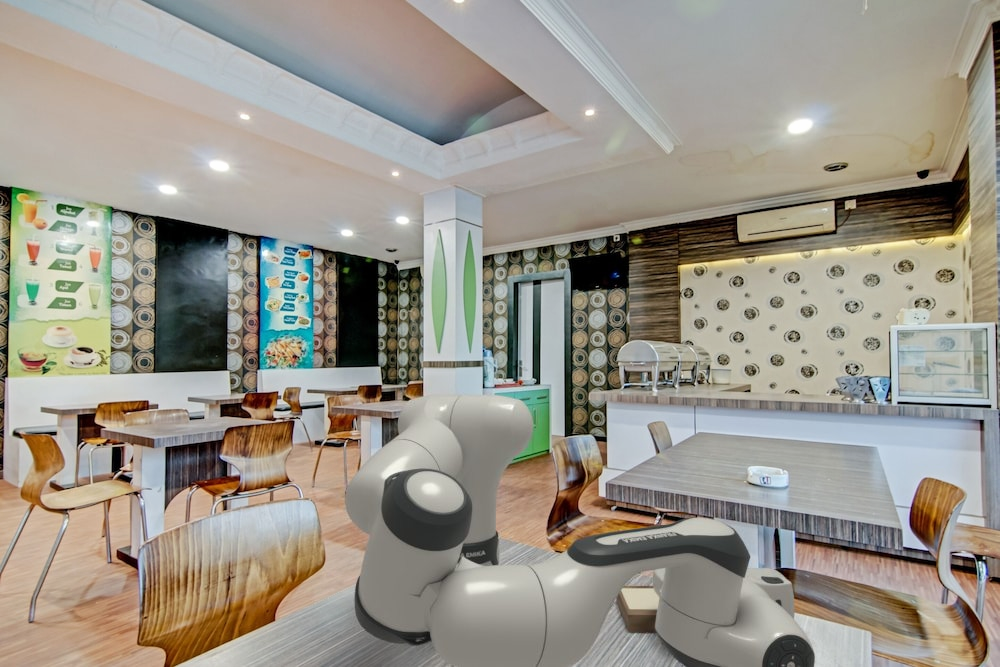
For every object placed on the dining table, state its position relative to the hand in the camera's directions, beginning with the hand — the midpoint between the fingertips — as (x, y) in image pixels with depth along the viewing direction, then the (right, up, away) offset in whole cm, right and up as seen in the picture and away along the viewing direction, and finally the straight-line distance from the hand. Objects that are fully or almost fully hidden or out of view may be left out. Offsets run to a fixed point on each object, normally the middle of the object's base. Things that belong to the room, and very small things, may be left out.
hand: (702, 566), depth 90 cm
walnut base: (-10, -8, -1) cm, 13 cm away
